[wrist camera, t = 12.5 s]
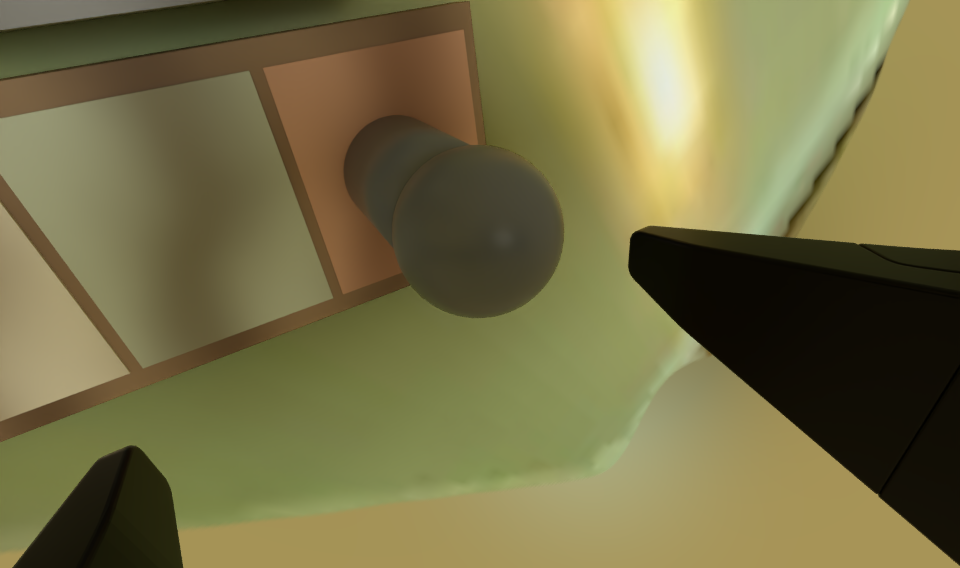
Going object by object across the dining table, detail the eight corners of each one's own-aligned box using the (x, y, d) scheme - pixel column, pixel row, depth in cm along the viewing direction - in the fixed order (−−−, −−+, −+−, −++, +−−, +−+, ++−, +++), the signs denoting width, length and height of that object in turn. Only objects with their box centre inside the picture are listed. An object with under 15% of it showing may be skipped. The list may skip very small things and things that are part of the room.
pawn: (353, 244, 18) (450, 379, 11) (318, 122, 15) (416, 207, 9) (459, 209, 19) (597, 311, 13) (443, 94, 17) (606, 148, 10)
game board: (-104, 463, 15) (-121, 490, 14) (-510, 165, 9) (-580, 180, 9) (487, 243, 22) (499, 252, 21) (456, 1, 17) (470, 1, 16)
